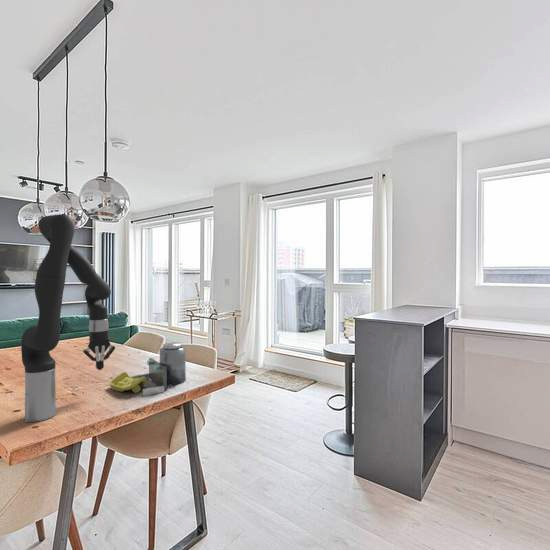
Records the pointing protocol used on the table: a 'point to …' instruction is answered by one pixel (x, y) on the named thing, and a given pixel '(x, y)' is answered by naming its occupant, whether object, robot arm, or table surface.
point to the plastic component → (127, 383)
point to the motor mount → (166, 368)
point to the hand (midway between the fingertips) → (100, 369)
